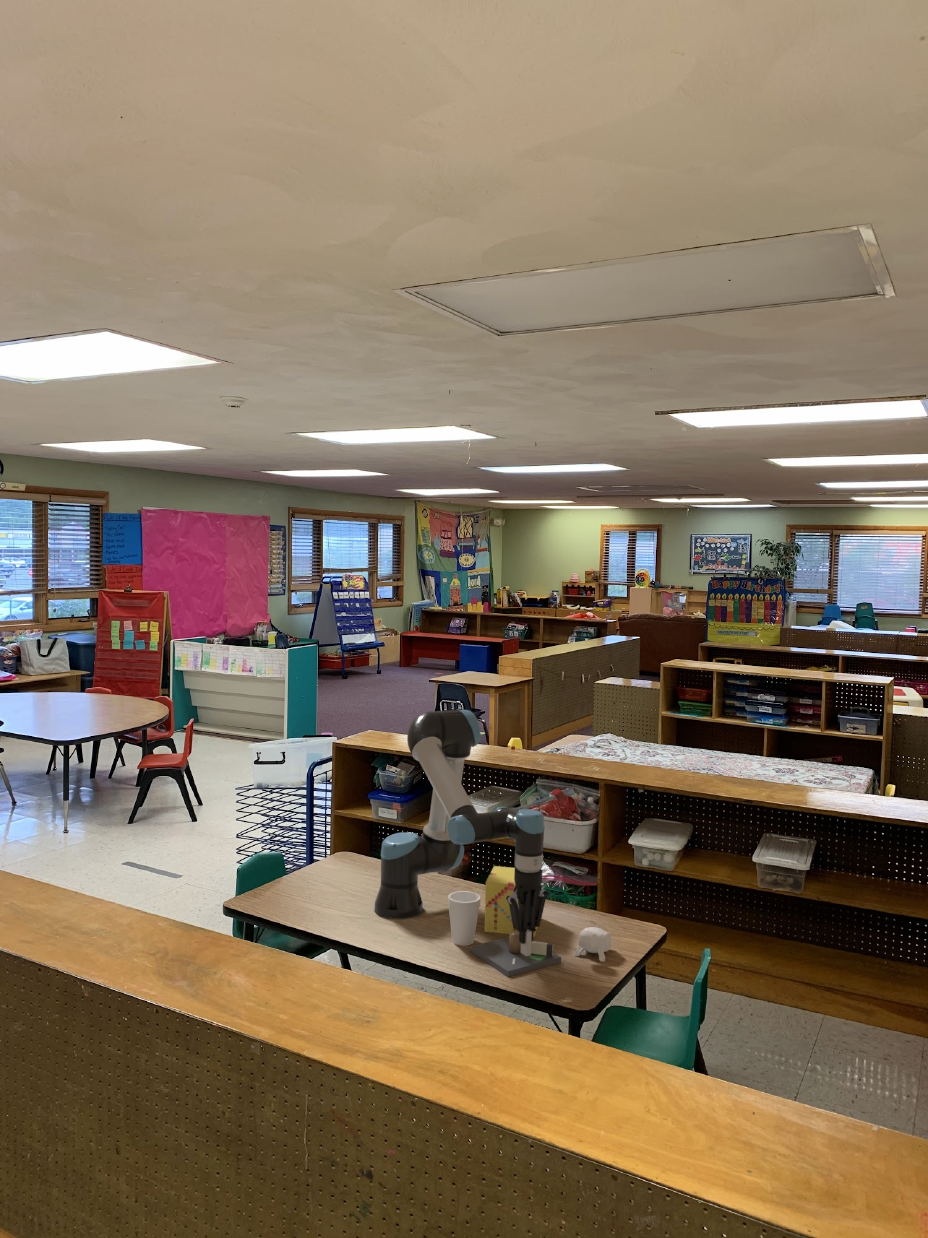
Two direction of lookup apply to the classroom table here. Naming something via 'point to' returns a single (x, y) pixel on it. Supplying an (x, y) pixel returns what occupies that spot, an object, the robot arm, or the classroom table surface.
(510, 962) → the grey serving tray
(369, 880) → the classroom table surface
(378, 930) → the classroom table surface
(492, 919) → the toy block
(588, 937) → the white footed figurine
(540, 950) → the tuning lever
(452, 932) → the foam cup
